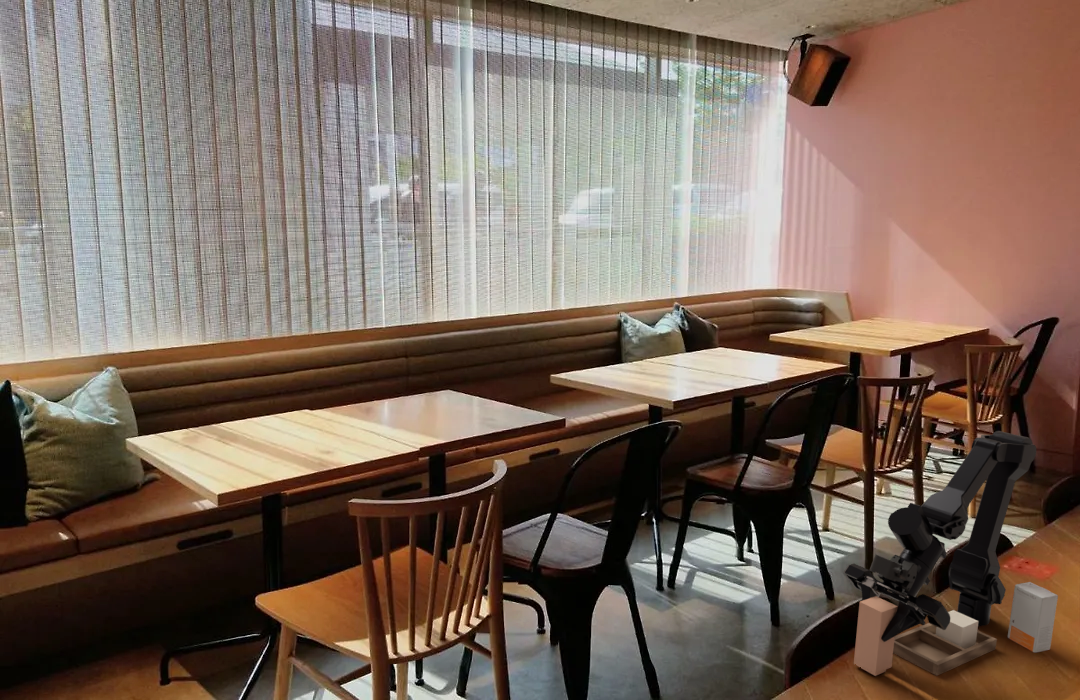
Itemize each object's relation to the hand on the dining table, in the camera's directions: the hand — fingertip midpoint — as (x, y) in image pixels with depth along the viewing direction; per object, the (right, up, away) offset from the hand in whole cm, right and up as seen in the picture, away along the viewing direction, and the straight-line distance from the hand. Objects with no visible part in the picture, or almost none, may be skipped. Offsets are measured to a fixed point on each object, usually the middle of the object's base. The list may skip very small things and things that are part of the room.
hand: (870, 634), depth 148 cm
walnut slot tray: (+16, -6, +8) cm, 19 cm away
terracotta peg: (+1, -6, +2) cm, 7 cm away
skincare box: (+34, -7, +11) cm, 37 cm away
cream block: (+20, -5, +10) cm, 23 cm away
